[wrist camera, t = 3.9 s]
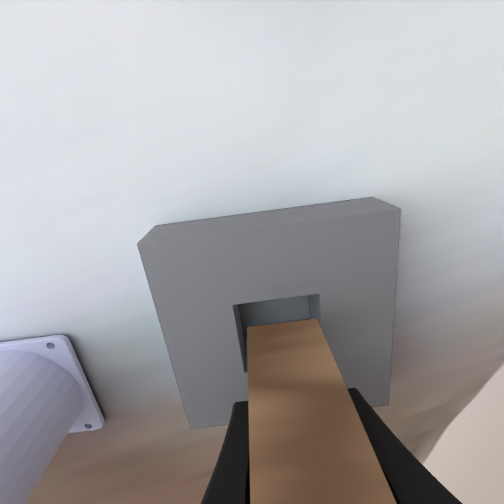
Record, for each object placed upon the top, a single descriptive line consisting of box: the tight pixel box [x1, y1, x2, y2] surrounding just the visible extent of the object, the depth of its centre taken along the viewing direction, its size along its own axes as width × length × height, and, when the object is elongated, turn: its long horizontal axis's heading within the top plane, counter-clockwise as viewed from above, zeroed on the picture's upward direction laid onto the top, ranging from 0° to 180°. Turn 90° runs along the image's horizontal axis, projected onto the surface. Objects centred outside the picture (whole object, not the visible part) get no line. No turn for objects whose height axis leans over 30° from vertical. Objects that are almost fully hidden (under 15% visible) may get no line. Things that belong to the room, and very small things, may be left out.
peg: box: [247, 318, 397, 504], centre depth 10 cm, size 3×3×8 cm
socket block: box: [137, 197, 401, 429], centre depth 14 cm, size 12×14×9 cm
